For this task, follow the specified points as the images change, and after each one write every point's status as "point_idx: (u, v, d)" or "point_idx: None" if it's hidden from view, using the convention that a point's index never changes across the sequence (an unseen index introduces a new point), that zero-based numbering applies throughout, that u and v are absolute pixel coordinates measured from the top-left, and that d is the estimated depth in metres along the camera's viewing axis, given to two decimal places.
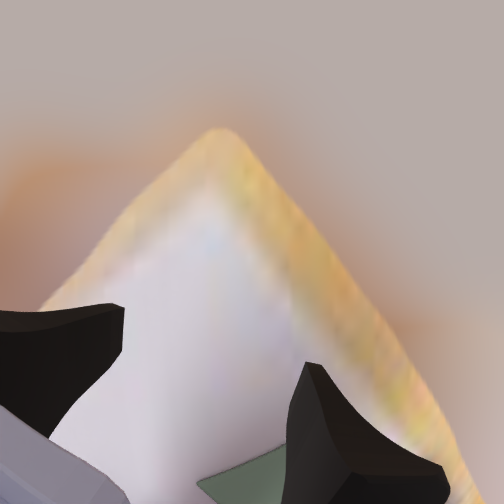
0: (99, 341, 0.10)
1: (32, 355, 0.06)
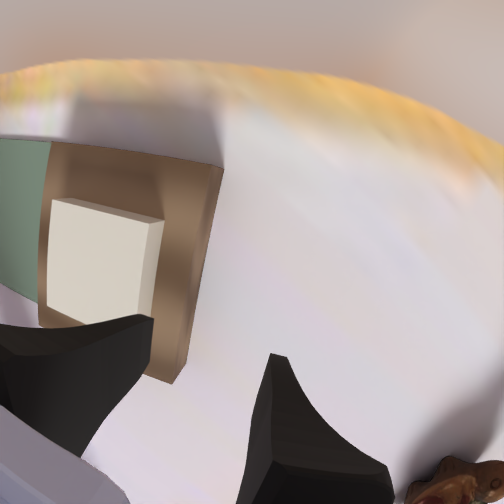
0: (130, 354, 0.10)
1: (68, 376, 0.06)
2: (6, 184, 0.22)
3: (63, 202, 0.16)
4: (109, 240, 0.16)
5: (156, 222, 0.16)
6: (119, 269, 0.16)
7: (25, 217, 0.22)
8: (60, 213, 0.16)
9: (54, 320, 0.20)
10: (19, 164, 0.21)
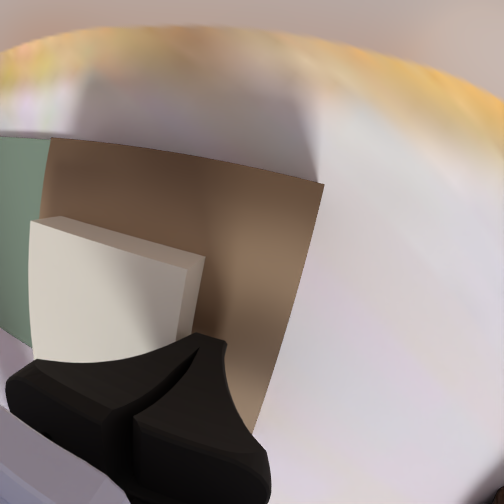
0: None
1: None
2: None
3: (46, 226, 0.10)
4: (119, 289, 0.10)
5: (196, 263, 0.10)
6: (137, 335, 0.10)
7: (17, 242, 0.16)
8: (42, 242, 0.10)
9: None
10: (8, 169, 0.15)
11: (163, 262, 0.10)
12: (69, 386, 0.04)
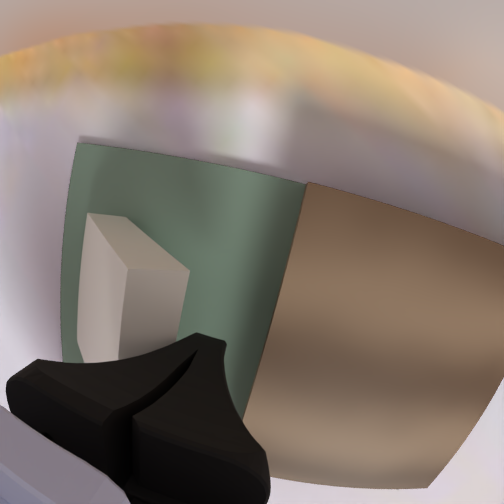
0: None
1: None
2: None
3: (91, 218, 0.13)
4: (104, 281, 0.10)
5: (158, 270, 0.09)
6: (106, 330, 0.10)
7: None
8: (87, 232, 0.13)
9: (269, 462, 0.13)
10: (152, 198, 0.14)
11: (120, 258, 0.09)
12: (70, 387, 0.04)
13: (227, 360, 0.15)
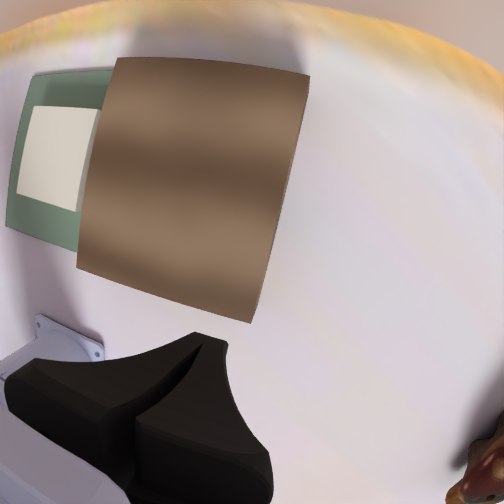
0: None
1: None
2: None
3: (41, 106, 0.18)
4: (68, 126, 0.18)
5: None
6: (72, 148, 0.18)
7: None
8: (38, 114, 0.18)
9: (99, 258, 0.18)
10: (63, 96, 0.19)
11: None
12: (67, 385, 0.04)
13: None
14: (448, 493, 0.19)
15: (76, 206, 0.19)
